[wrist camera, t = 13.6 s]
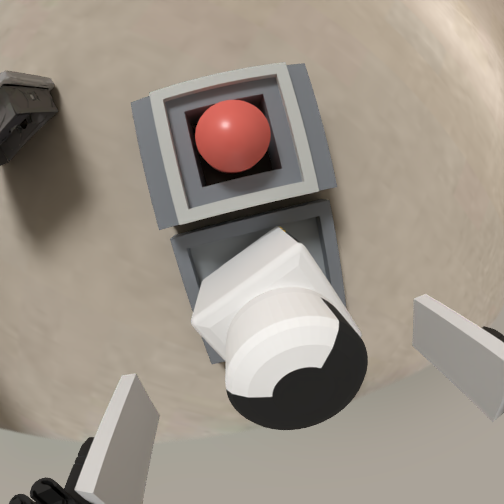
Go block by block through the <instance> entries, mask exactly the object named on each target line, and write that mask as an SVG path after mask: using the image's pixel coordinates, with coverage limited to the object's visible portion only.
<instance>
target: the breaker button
mask: <svg viewBox="0 0 504 504" xmlns="http://www.w3.org/2000/svg"><path fill="white" fill-rule="evenodd" d="M270 137H271V133H270V126H269V123H268V121H267V119H266V117H265V116H264V114H263V113H262V112H261V111H260V110H259V109H258V108H257V107H255V106H254V105H252V104H250V103H248V102H245V101H241V100H226V101H222V102H219V103H217V104H215V105H213V106H211V107H210V108H209V109H207V110H206V111H205V112H204V114H203V115H202V116H201V118H200V119H199V121H198V124H197V127H196V132H195V140H196V145H197V148H198V150H199V152H200V154H201V155H202V157H203V158H204V159H205V160H206V161H207V162H208V164H209V165H210V166H211V167H213V168H214V169H215V170H217V171H219V172H222V173H226V174H239V173H242V172H245V171H247V170H249V169H250V168H252V167H253V166H254V165H255V164H256V163H257V162H258V161H259V160H260V159H261V158H262V157H263V156H264V154H265V153H266V151H267V149H268V147H269V143H270Z"/></svg>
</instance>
